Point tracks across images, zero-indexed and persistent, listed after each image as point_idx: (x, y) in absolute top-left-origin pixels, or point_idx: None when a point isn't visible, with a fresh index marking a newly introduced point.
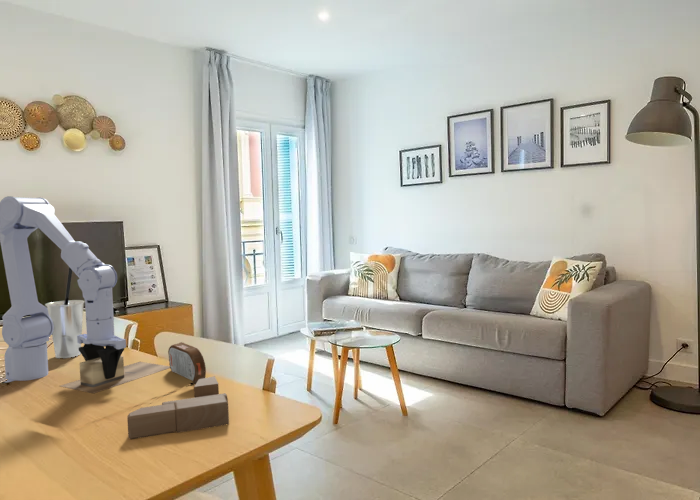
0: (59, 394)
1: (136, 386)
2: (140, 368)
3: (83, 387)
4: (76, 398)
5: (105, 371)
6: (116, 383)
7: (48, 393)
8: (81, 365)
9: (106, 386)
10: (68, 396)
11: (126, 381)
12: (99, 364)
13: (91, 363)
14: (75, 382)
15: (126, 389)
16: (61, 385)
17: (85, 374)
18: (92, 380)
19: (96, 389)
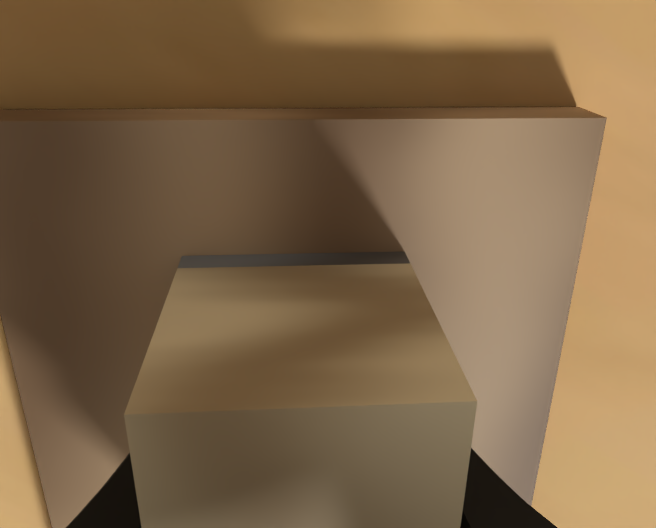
0: (485, 39)
1: (16, 493)
2: None
3: (282, 205)
4: (176, 34)
5: (127, 464)
6: (92, 424)
7: (636, 5)
8: (419, 379)
9: (81, 329)
10: (326, 39)
11: (66, 493)
12: (146, 501)
13: (241, 459)
14: (526, 272)
15: (8, 417)
16: (592, 141)
17: (318, 314)
18: (180, 288)
19: (76, 225)
